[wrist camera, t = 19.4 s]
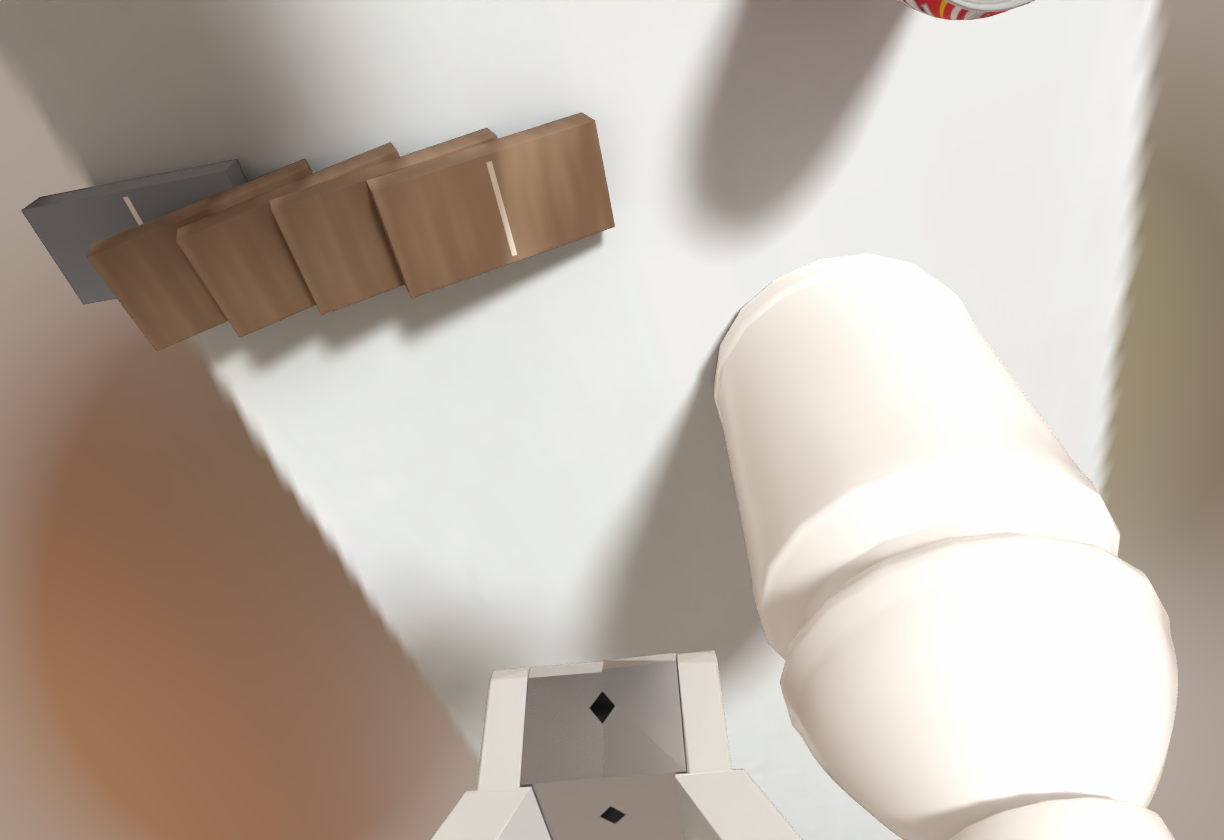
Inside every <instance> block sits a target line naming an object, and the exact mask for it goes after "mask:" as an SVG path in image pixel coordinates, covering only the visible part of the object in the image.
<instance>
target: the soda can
mask: <svg viewBox="0 0 1224 840" xmlns="http://www.w3.org/2000/svg"><path fill="white" fill-rule="evenodd" d="M898 1H899V2H901V3H903V4H905V5H907V6H909V7H911V8H913V9H915V10H917V11H920V12H922V13H925V14H927V15H930V16H933V17H937V18H942V19H948V20H973V19H979V18H985V17H990V16H993V15H996V14H999V13H1002V12H1005V11H1008V10H1010V9H1013V8H1016V7H1019V6H1022V5H1025V4H1028V3H1030V2H1032V1H1034V0H898Z"/></svg>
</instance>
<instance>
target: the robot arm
mask: <svg viewBox="0 0 1224 840" xmlns="http://www.w3.org/2000/svg"><path fill="white" fill-rule="evenodd" d="M677 662H678V664H677ZM430 840H803V839H802V838H801V837H800V836H799V835H798V833H797V832H796V831H795V830H794V828H793V827H792V826H791V825H790V824H789V822H788V821H787V820H786V819H785V818H784V816H783V815H782V814H781V813H780V812H779V810H778V809H777V808H776V807H775V806H774V804H773V803H772V802H771V801H770V799H769V798H768V797H767V796H766V795H765V793H764V792H763V791H762V790H761V789H760V787H759V786H758V785H757V784H756V783H755V781H754V780H753V779H752V778H751V776H750V775H749V774H748V773H747V772H746V770H745V769H733V768H732V761H731V754H730V747H729V740H728V733H727V726H726V719H725V712H724V704H723V697H722V690H721V683H720V676H719V669H718V662H717V657H716V654H715V651H714V650H707V651H698V652H689V653H680V654H677V656H676V653H668V654H659V655H649V656H640V657H631V658H622V659H612V660H604V661H603V662H590V663H578V664H565V665H553V666H540V667H523V668H512V669H502V670H494V671H493V673H492V676H491V679H490V681H489V686H488V695H487V703H486V711H485V720H484V728H483V736H482V745H481V753H480V761H479V770H478V778H477V787H476V790H473V791H465V792H464V794H463V795H462V796H461V798H460V799H459V801H458V802H457V803H456V805H455V806H454V807H453V809H452V810H451V812H450V813H449V814H448V816H447V817H446V818H445V820H444V821H443V823H442V824H441V825H440V827H439V828H438V829H437V831H436V832H435V834H434V835H433V837H432V838H431V839H430Z"/></svg>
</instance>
